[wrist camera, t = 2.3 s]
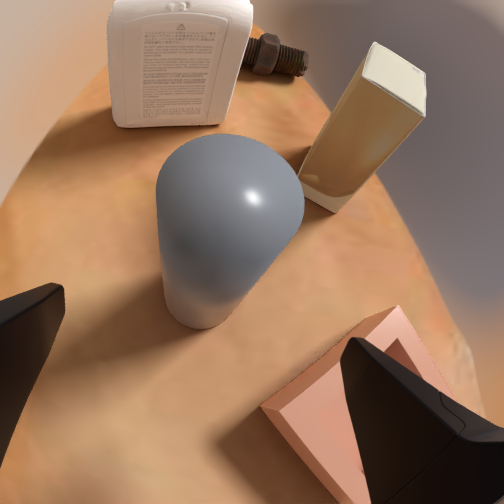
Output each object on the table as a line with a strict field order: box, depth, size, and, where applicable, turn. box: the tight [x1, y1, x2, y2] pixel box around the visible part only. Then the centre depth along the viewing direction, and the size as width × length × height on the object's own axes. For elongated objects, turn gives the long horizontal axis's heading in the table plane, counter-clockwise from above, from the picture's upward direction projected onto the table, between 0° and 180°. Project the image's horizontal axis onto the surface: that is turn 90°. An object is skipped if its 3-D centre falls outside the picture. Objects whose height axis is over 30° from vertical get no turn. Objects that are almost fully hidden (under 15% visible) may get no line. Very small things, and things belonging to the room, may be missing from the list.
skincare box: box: [297, 42, 426, 213], centre depth 21 cm, size 6×4×12 cm
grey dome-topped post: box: [156, 134, 305, 329], centre depth 15 cm, size 5×5×12 cm
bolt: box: [242, 33, 309, 77], centre depth 29 cm, size 6×5×15 cm
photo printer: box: [107, 0, 253, 128], centre depth 20 cm, size 10×4×12 cm, turn 101°
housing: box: [259, 305, 458, 504], centre depth 18 cm, size 10×10×4 cm
